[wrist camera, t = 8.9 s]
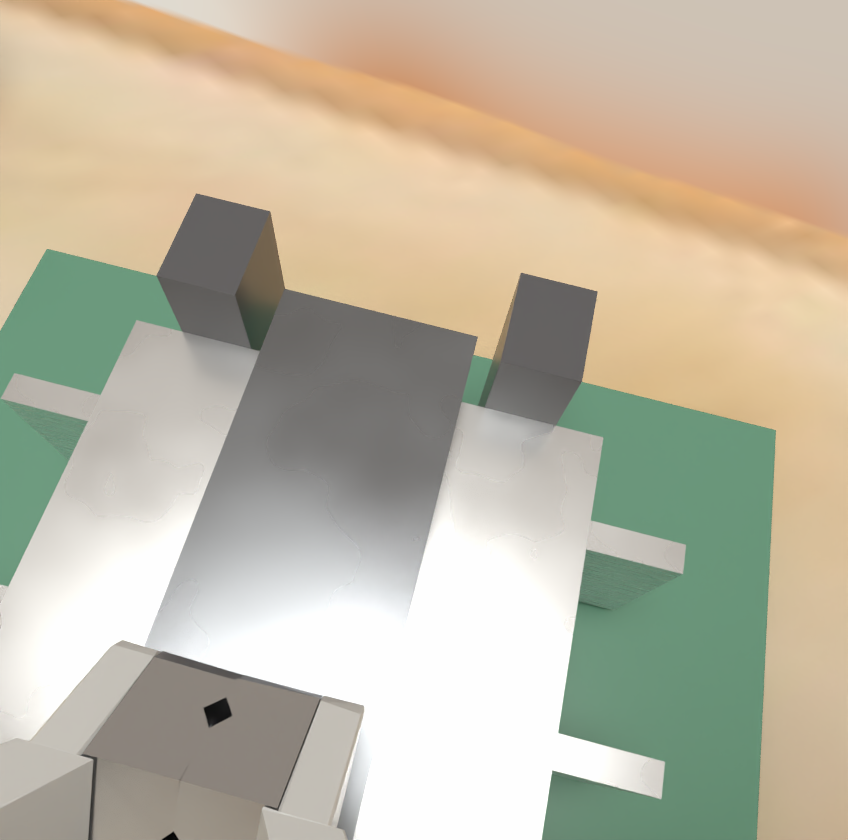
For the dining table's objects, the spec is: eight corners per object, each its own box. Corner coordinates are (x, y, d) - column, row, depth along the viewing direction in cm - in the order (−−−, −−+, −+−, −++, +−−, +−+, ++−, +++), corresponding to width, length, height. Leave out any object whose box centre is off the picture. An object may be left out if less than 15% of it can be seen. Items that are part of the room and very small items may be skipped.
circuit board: (758, 443, 22) (775, 430, 21) (712, 1252, 14) (735, 1287, 14) (60, 268, 22) (46, 248, 22) (-318, 953, 15) (-362, 967, 14)
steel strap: (471, 360, 15) (477, 337, 14) (272, 1158, 10) (262, 1200, 9) (289, 315, 15) (284, 288, 15) (-3, 1079, 10) (-40, 1111, 9)
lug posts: (525, 432, 20) (597, 291, 14) (512, 498, 19) (581, 381, 13) (250, 362, 21) (196, 193, 14) (225, 425, 20) (156, 276, 13)
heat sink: (621, 526, 19) (728, 438, 14) (538, 1138, 14) (654, 1411, 8) (120, 398, 20) (18, 260, 14) (-135, 944, 15) (-461, 1079, 9)
